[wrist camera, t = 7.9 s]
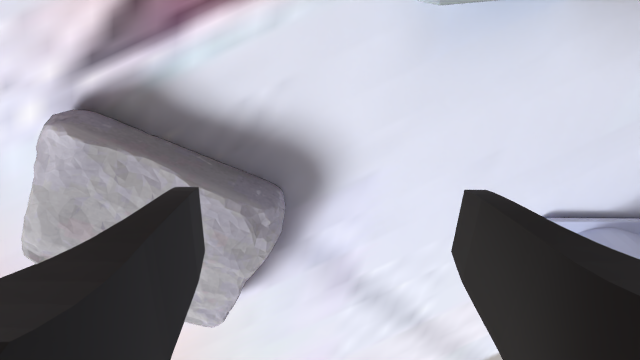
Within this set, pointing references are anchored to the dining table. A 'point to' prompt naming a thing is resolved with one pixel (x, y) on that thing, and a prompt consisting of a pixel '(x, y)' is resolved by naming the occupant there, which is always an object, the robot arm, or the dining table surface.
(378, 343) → the dining table surface
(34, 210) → the stone block
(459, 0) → the grey-blue block
